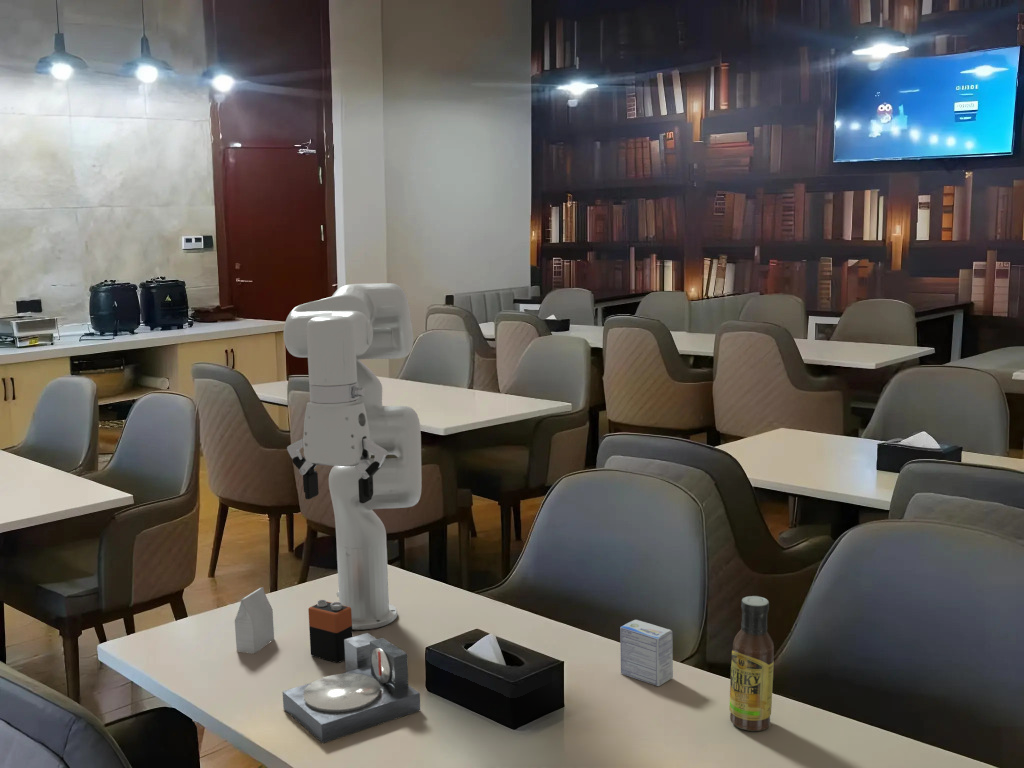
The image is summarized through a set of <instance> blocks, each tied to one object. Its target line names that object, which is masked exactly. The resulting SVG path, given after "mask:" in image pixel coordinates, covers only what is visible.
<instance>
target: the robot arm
mask: <svg viewBox="0 0 1024 768" xmlns="http://www.w3.org/2000/svg"><path fill="white" fill-rule="evenodd" d="M412 323H413V322H412V317H411V309H410V303H409V300H408V297H407V295H406V293H405V290H403V288H402V287H401V286H400V285H398V284H396V283H393V282H391V283H390V282H388V283H386V282H385V283H379V282H378V283H352V284H350V283H349V284H345V285H343V286H340V287H339V288H337V289H336V290H335V292H333V294H332V296H329V297H326V298H321V299H319V300H314V301H309V302H306V303H303V304H302V303H301V304H299V305H297V306H295V307H293V309H292V310H291V311H290V312H289V314H288V315H287V317H286V320H285V322H284V327H283V342H284V345H285V347H286V349H287V351H288V353H289V354H290V355H292V356H293V357H296V358H307V366H308V382H309V383H308V384H309V388H308V389H309V402H307V403H306V406H305V414H304V420H303V421H304V422H303V437H302V438H301V439H299V440H296V441H295V442H293V443H291V444H290V445H288V446H287V447H286V450H287V452H288V454H289V456H290V458H291V459H292V463H293V465H294V466H295V467H296V468H297V469H298V471H299V474H300V475H301V476H302V481H303V482H302V484H303V493H304V496H305V497H304V498H305V500H311V499H313V498H315V497H317V496H318V495H319V475H318V471H317V470H315V468H316V467H317V466H319V465H320V466H321V465H322V466H332V468H331V469H330V472H329V475H328V489H329V492H330V499H331V503H332V508H333V514H334V522H335V523H334V525H335V538H336V561H337V562H336V563H337V577H338V578H337V581H338V591H337V592H336V597H338V602H341V603H342V604H343V605H344V606H348V607H350V608H351V614H352V630H355V631H357V630H358V631H359V630H371V629H378V628H382V627H385V626H387V625H389V624H391V623H393V622H394V621H395V620H396V619H397V617H398V608H397V607H396V606H395V605H393V604H391V603H390V599H389V596H390V595H389V578H388V577H389V575H388V574H389V571H388V548H387V532H386V527H385V525H384V523H383V521H382V520H381V518H380V517H379V516H378V515H377V514H376V512H375V511H374V510H379V509H380V510H381V509H400V508H401V509H402V508H403V509H404V508H411V507H414V506H416V505H418V503H419V501H420V500H421V496H422V487H423V486H422V481H423V478H422V434H421V433H422V432H421V423H420V419H419V416H418V414H417V411H415V410H414V408H412V407H410V406H407V405H383V384H382V382H381V380H380V379H379V378H378V377H377V375H376V374H375V372H374V371H372V370H371V369H370V368H369V367H368V366H367V365H366V364H365V363H363V362H362V361H361V360H398V359H402V358H406V357H407V356H408V355H410V353H411V351H412V350H413V344H414V331H413V324H412ZM302 448H303V455H302V453H301V449H302ZM388 455H391V456H392V455H394V456H395V457H391V458H390V457H389V458H386V457H387V456H388ZM372 456H374V457H373V458H371V457H372Z"/></svg>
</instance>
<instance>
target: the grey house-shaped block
mask: <svg viewBox="0 0 1024 768" xmlns="http://www.w3.org/2000/svg"><path fill="white" fill-rule="evenodd" d="M273 613H274V612H273V608H272V605H271V603H270V601H269V598H268V597H267V594H266V592H265V590H264V587H259V588H258V589H256V590H254V591H253V592H251V593H249V594H248V595H246V596H245V597H243V598H242V599H241V600H240V605H239V608H238V611H237V613H236V617H235V619H234V629H235V630H234V631H235V644H236V652H237V651H240V652H239V653H245V652H248V653H247V654H252V653H255V652H256V653H257V651H258V650H259V651H260V650H262V649H263V648H264V647H266V646H267V645H269V644H270V643H271V642H273V641H274V640H275V632H274V631H275V627H274V614H273ZM273 639H274V640H273ZM272 640H273V641H272ZM270 641H271V642H270ZM269 642H270V643H269ZM268 643H269V644H268ZM266 644H267V645H266ZM265 645H266V646H265ZM262 647H263V648H262ZM261 648H262V649H261ZM259 651H258V652H259ZM256 653H255V654H256Z"/></svg>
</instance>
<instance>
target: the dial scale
mask: <svg viewBox="0 0 1024 768" xmlns="http://www.w3.org/2000/svg"><path fill="white" fill-rule="evenodd" d="M376 639H377V640H373V641H370V659H371V665H370V666H366V667H363V668H360V669H356V670H353V671H349V672H346V671H345V672H344V673H339V674H337V673H335V674H331V675H327V676H324V677H321V678H318V679H317V680H316V679H315V680H314V681H312V682H310V683H306V684H303V685H299V686H296V687H292V688H290V689H285V690H283V691H282V705H283V711H285V712H286V713H288V715H289V716H291V717H292V718H293V719H295V720H296V722H297V723H299V724H300V725H301V726H302V727H303V728H305V730H307V732H309V733H310V734H311V735H312V736H314V737H315V738H316V739H317V740H318V741H320V743H321V744H324V743H327V742H330V741H333V740H336V739H339V738H343V737H346V736H348V735H351V734H355V733H357V732H360V731H364V730H367V729H369V728H372V726H373V727H375V725H376V726H378V724H379V725H381V723H382V724H384V723H383V722H385V723H387V721H388V722H391V721H393V720H396V718H397V719H399V717H400V718H402V716H403V717H405V715H406V716H408V715H410V714H413V713H417V712H419V710H420V711H421V697H420V696H421V694H420V691H418V690H417V689H414V687H412V686H411V685H409V669H408V668H409V667H408V666H409V664H408V653H407V652H405V651H404V650H403V649H401V648H399V647H398V646H396V645H394V644H393V643H391V642H389V641H388V640H387V639H385V638H383V637H380V638H376ZM390 720H391V721H390Z"/></svg>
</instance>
